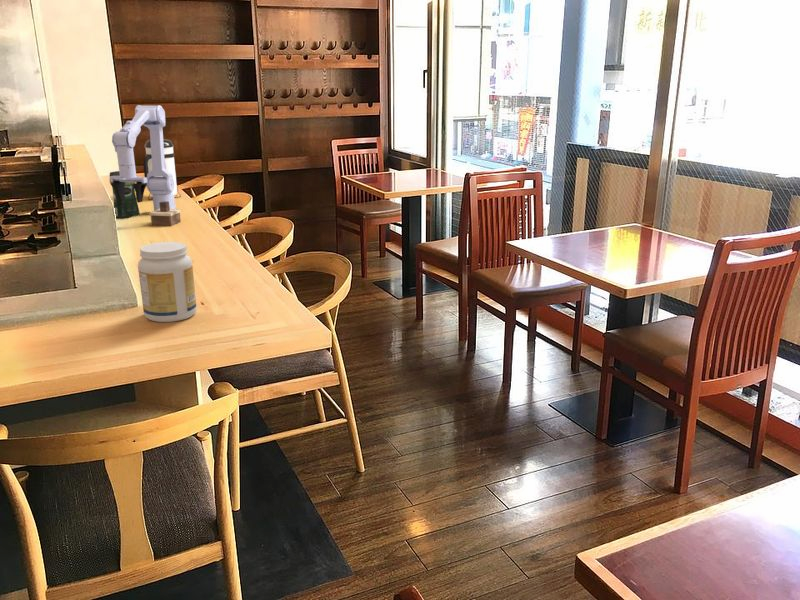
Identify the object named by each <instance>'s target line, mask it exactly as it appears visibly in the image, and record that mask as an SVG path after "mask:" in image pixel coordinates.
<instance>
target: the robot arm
mask: <svg viewBox="0 0 800 600" xmlns="http://www.w3.org/2000/svg"><path fill="white" fill-rule="evenodd" d="M142 126H144V127H146V128H147V129H148V130H149V138H150V139H149V140H150V142H151V156H152V170H151V171H150V172H149V173H148V174H147V177H145V176H140V175H139V176H138V175H137V170H136V162H135V153H134V147H135V146H136V141H137V137H138V136H139V134H140V133H141V132H142V129H141V127H142ZM164 127H166V111H165V109H164V108H163V107H162V105H159V104H158V105H140V104H138V105H136V106H135V108H134V116H133V118H132V119H131V120H127V121H126V123H125V124H124V125H123V126H122V127H121V128H120V130H119V131H115V132H114V133H113V134H112V138H111V143H112V145H113V147H114V151H115V153H116V156H117V163H118V164H117V165H118V171H119V173H120V176H110V175H109V182H110V181H111V182H113V183H111V184H110V186H111V185H112V186H111V188H112V187H113V188H114V189H115V191H116V193H117V195H118V197H119V200H120V201H125V192H124V189H125V182H135V184H133V186H134V190H135V195H136V200H137V203H143V201H144V200H143V199H144V193H145V190H147V191H148V192H149V194H150V195H151V194H152V195H151V198H152V197H153V198H152V204H153V211H155V210H158V209H160V204H159V202H162V201H168V202H169V207H170V209H177V208H176V207H177V206H176V200H175V195H173V194H172V191H173V190H174V180H173V176H172V174H171V173H170V172H169V171H167V170H166V169H165V159H164V143H163V139H164V132H163V128H164ZM155 176H164V177H155ZM128 180H132V181H128ZM146 186H147V187H146ZM146 188H147V189H146Z"/></svg>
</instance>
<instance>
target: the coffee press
mask: <svg viewBox="0 0 800 600" xmlns="http://www.w3.org/2000/svg"><path fill="white" fill-rule="evenodd" d="M163 143H164V159H165V169H166V170H167V171H169V172H170V173H171V174H172V176H173V180H174V190H173V191H172V194H173V195H174V196H176V197H178V198H181V197H182V194H179V196H178V193H179V190H178V189H179V188H178V180H177V170H176V161H175V152H174V144H173V142H172V141H171V140H170V139H166V138H163ZM143 146H144V148H145V157H144V159H143V174H144V175H143V176H144V177H147V174H148V173H149V172H150V171H151V170H152V156H151V142H150V139H148V140H147V141H146V142H145V144H144V145H143ZM155 177H164V176H155ZM146 188H147V186H146ZM147 199H148V201H149V200H153V197H152V194H150V193H149V194H148V196H147Z"/></svg>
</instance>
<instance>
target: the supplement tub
mask: <svg viewBox="0 0 800 600" xmlns="http://www.w3.org/2000/svg"><path fill="white" fill-rule="evenodd" d="M187 248H188V247H187V244H186V243H184V242H181V241H180V242H179V241H178V242H177V241H159V242H152V243H149V244H145V245H142V246H141V247H140V248H139V251H140V252H139V256H140V257H141V258H140V259H139V261H138V264H137V269H138V271H137V272H138V278H139V286H140V293H141V302H142V308H143V315H144V317H145V318H146V319H148V320H150V321H153V322H155V323H174V322H179V321H182V320H183V321H184V320H186V319H188V318H191V317H193V316H194V315H195V314H196V312H197V309H198V307H197V298H196V297H197V296H196V289H195V288H196V287H195V277H194V269H193V268H194V266H193V261H192V258H191V256H189V255H188V254H187V253H188V249H187Z"/></svg>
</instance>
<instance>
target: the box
mask: <svg viewBox="0 0 800 600" xmlns="http://www.w3.org/2000/svg"><path fill="white" fill-rule="evenodd" d="M181 222H182V221H181V212H180V213H177V214H175V215H173V216H150V223H151V226H152V227H153V226H155V227H158V226H159V227H174V226H175V225H178V224H179V223H181Z"/></svg>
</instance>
